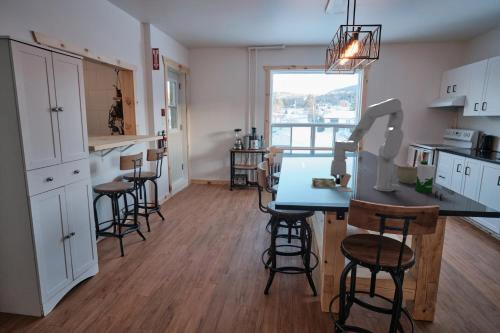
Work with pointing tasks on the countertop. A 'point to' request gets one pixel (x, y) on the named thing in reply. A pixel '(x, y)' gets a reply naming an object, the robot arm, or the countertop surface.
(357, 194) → the countertop surface
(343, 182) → the blank block
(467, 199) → the countertop surface
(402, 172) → the planter bowl
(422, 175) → the milk carton
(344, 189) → the tile pad
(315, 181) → the shelf bay
